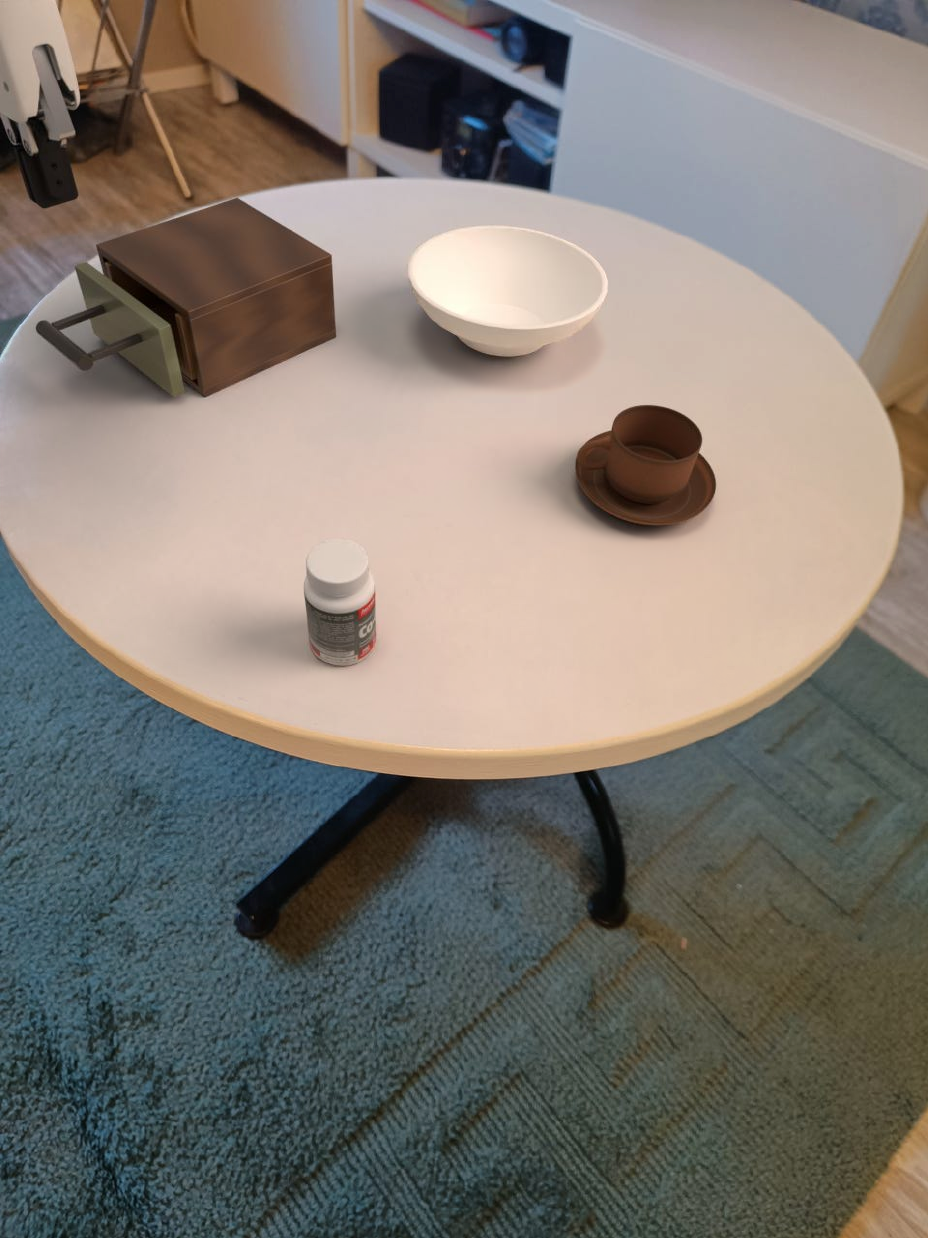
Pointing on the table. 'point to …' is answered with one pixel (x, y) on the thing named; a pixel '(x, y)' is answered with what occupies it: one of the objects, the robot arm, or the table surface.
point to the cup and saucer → (647, 467)
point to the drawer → (127, 328)
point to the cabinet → (233, 287)
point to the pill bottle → (340, 602)
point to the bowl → (506, 287)
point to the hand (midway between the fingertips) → (55, 199)
